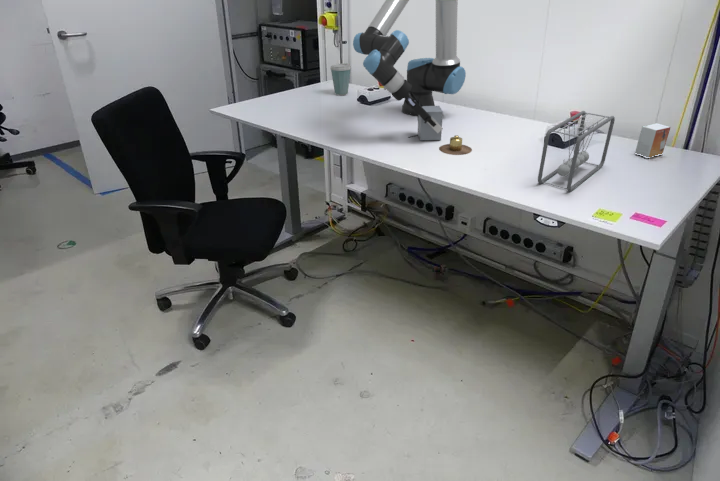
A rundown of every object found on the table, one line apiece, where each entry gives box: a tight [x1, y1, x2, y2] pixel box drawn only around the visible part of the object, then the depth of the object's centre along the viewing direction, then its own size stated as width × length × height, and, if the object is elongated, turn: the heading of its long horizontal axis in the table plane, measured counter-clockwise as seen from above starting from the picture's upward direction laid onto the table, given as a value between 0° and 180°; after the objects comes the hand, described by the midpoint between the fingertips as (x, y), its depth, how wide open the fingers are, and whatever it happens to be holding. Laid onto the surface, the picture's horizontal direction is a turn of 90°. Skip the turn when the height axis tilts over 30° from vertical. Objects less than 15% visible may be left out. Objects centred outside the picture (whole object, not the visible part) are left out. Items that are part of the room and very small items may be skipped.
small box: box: [634, 122, 672, 157], centre depth 179 cm, size 8×6×10 cm
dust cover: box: [417, 105, 444, 141], centre depth 196 cm, size 8×8×11 cm
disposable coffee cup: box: [330, 62, 352, 96], centre depth 259 cm, size 11×11×15 cm
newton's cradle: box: [537, 110, 616, 193], centre depth 162 cm, size 30×10×18 cm, turn 138°
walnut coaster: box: [438, 143, 473, 156], centre depth 188 cm, size 12×12×1 cm
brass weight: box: [449, 135, 463, 151], centre depth 186 cm, size 4×4×5 cm
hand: (438, 127), depth 197 cm, fingers closed on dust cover, 8 cm apart
